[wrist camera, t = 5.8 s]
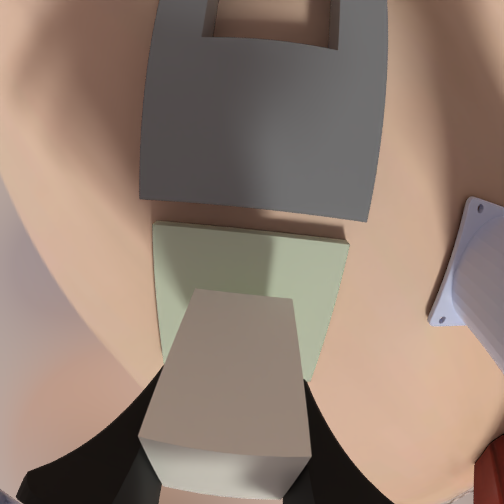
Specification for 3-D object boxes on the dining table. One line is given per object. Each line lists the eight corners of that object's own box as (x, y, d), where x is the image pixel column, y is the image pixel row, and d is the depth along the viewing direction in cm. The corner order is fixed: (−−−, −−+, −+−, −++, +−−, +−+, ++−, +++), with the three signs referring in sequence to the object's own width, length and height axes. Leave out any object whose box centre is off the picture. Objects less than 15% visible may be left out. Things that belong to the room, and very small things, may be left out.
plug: (292, 298, 12) (311, 456, 5) (278, 366, 13) (281, 499, 7) (195, 288, 12) (138, 436, 5) (196, 357, 13) (163, 485, 7)
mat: (346, 240, 13) (349, 244, 12) (309, 374, 16) (310, 381, 16) (156, 220, 13) (152, 224, 12) (166, 359, 16) (164, 365, 16)
